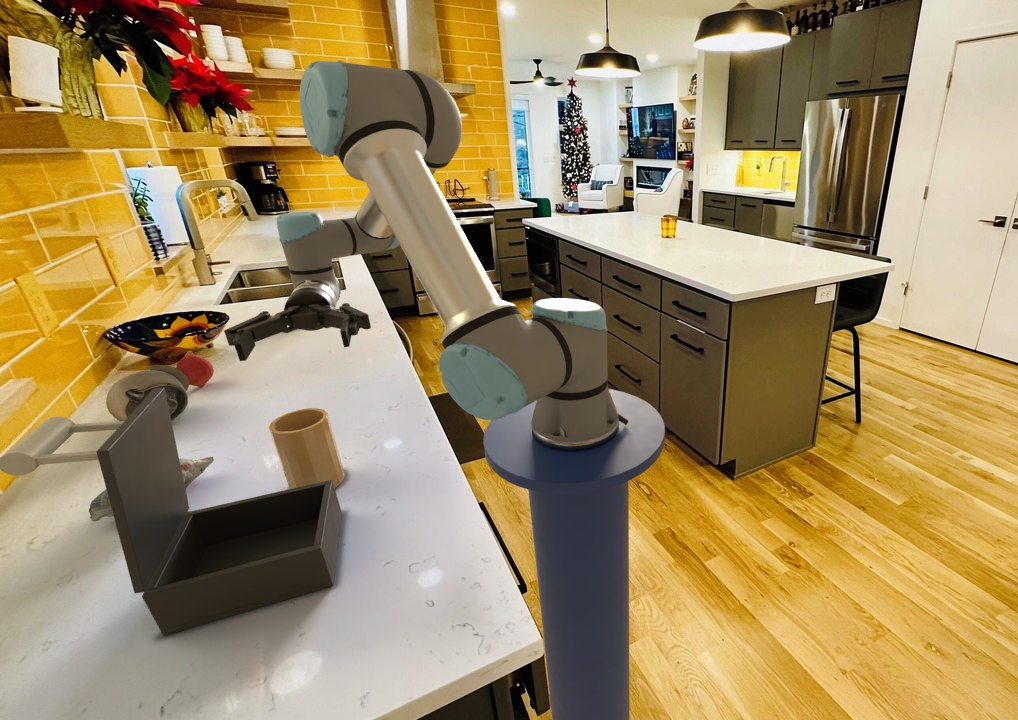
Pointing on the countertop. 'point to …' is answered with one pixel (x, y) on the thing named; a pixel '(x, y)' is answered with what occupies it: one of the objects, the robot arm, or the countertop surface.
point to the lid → (123, 477)
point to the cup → (307, 448)
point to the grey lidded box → (246, 556)
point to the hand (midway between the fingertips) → (294, 345)
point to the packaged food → (190, 472)
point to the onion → (195, 369)
